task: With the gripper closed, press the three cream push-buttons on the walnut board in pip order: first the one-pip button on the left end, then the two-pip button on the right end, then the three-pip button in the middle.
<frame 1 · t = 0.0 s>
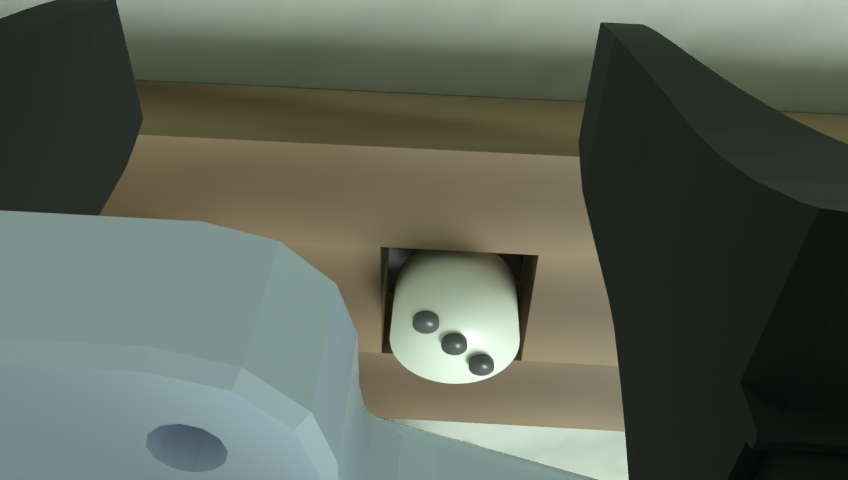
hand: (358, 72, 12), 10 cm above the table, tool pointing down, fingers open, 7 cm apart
button board: (456, 246, 27), on the table
button three: (454, 316, 24), point 3 cm above the table, slide at 0.0 cm
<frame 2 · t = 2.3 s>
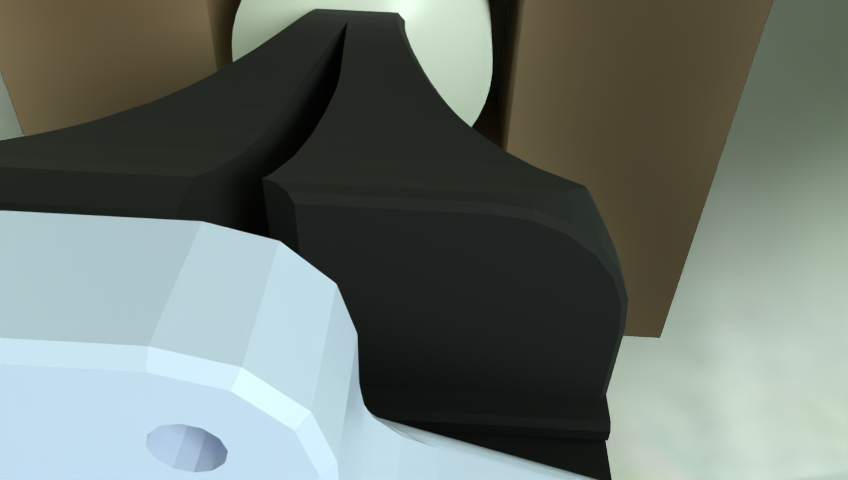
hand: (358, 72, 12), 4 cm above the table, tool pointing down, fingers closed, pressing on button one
button one: (369, 35, 13), point 2 cm above the table, slide at 1.1 cm, touching gripper
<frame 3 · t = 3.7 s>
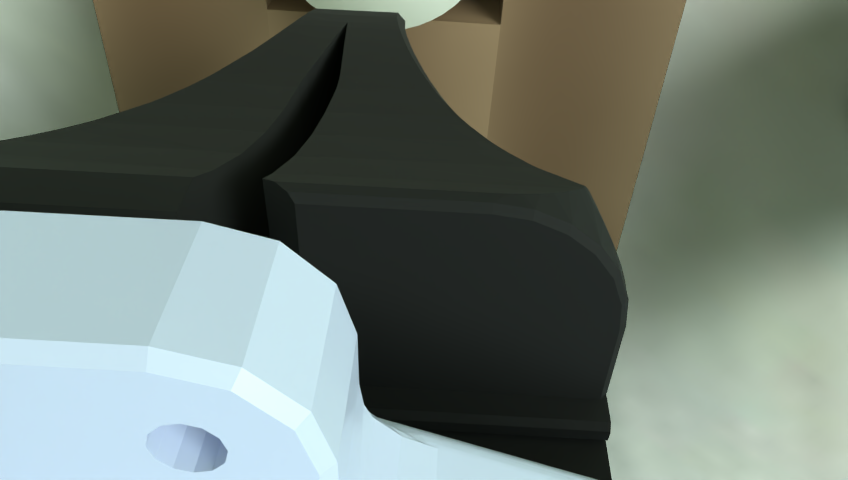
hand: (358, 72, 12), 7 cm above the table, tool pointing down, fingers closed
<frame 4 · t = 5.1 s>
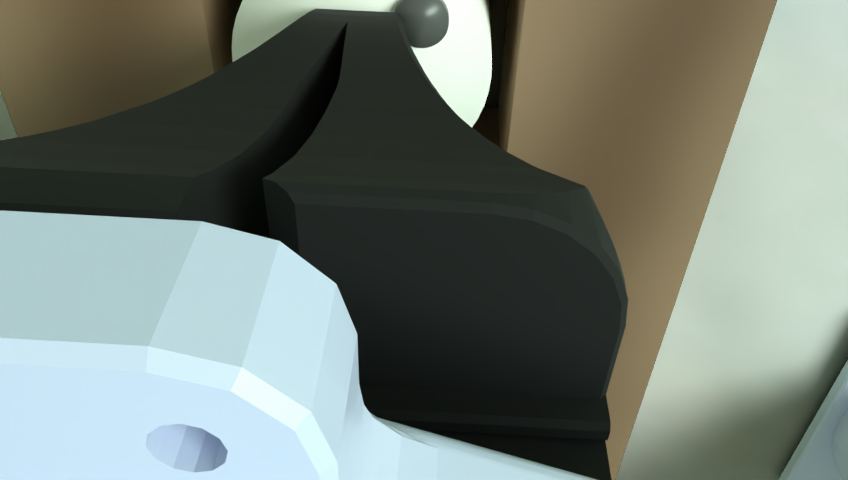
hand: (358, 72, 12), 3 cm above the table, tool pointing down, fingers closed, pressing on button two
button two: (369, 38, 13), point 2 cm above the table, slide at 1.3 cm, touching gripper
button board: (382, 324, 20), on the table
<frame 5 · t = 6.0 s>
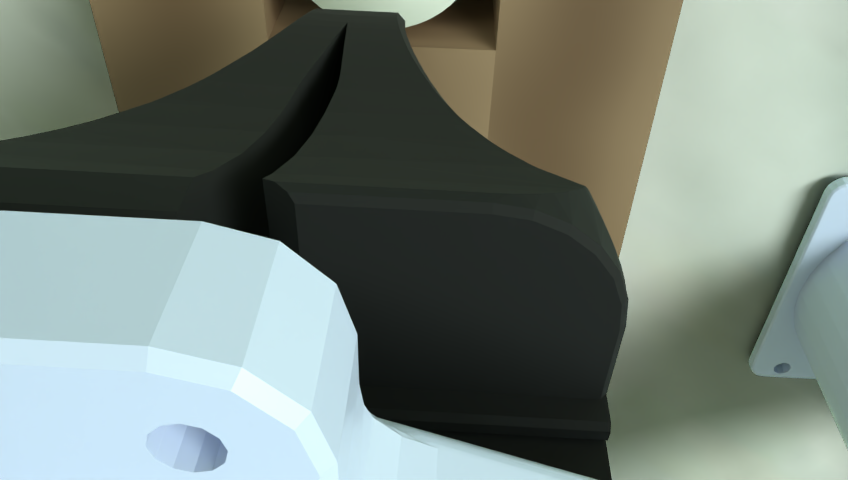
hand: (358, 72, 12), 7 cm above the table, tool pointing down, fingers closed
button board: (392, 207, 23), on the table
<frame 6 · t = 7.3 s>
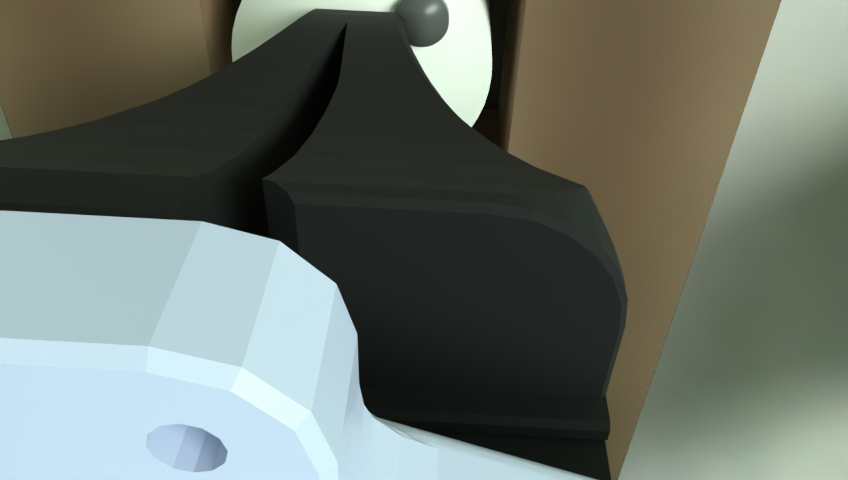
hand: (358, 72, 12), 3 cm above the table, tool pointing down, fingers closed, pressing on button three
button three: (369, 37, 13), point 2 cm above the table, slide at 1.4 cm, touching gripper
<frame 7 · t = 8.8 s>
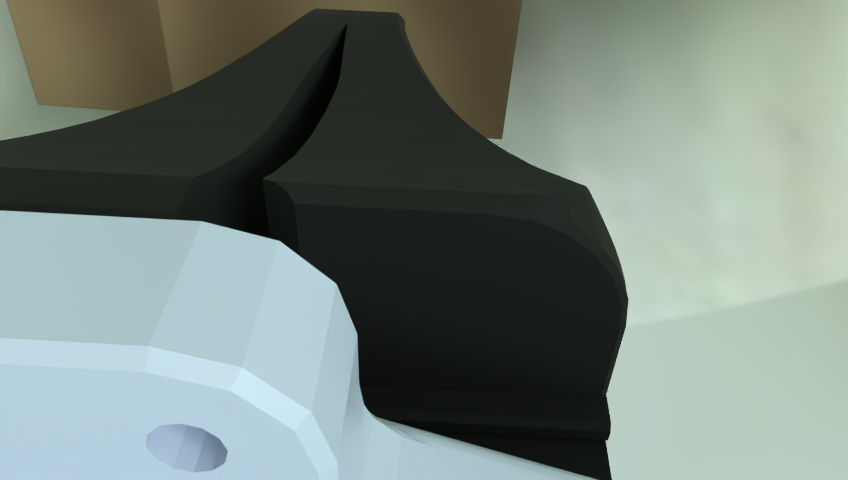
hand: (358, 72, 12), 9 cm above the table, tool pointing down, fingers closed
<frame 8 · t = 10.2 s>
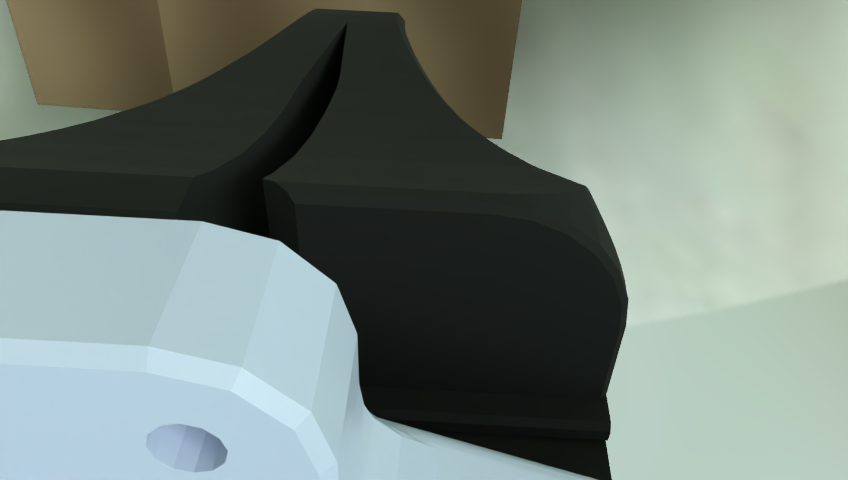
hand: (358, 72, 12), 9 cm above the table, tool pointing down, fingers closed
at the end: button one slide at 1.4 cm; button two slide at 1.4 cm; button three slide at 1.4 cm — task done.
